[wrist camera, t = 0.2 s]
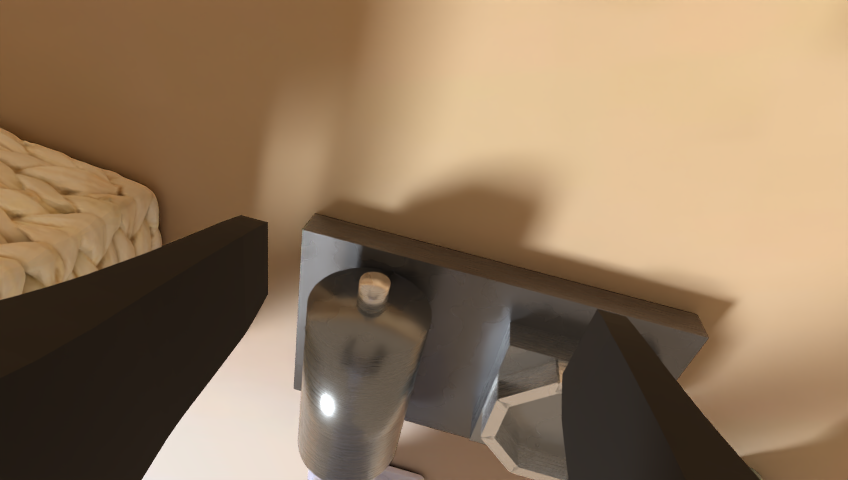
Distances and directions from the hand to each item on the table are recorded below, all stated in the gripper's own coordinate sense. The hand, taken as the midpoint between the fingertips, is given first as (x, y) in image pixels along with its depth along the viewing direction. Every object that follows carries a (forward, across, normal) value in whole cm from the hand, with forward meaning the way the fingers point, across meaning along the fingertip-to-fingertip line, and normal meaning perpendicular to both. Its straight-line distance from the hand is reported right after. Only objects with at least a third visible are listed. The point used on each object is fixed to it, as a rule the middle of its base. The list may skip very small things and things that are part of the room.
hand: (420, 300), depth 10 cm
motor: (+10, -3, +11) cm, 15 cm away
